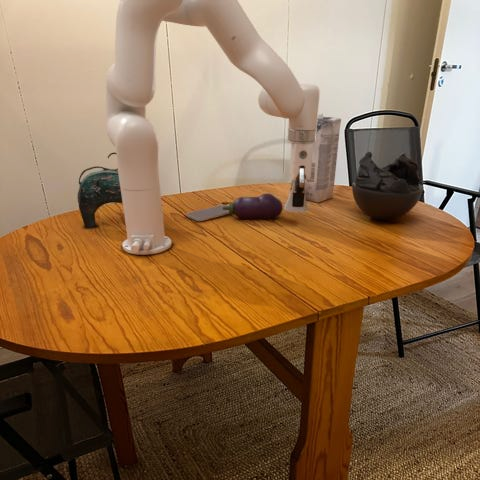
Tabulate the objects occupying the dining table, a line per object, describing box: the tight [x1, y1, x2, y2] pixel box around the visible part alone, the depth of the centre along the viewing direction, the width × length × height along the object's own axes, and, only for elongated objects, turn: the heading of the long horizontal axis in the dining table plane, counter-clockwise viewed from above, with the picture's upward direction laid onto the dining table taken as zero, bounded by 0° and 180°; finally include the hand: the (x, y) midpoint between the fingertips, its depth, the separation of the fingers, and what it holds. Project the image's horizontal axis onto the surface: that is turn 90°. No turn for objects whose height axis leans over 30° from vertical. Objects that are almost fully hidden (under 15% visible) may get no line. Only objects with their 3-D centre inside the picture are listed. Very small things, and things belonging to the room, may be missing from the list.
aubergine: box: [223, 192, 284, 220], centre depth 134 cm, size 7×18×7 cm, turn 91°
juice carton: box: [304, 113, 342, 203], centre depth 148 cm, size 9×10×27 cm
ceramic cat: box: [77, 151, 123, 229], centre depth 127 cm, size 20×6×20 cm, turn 108°
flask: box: [283, 179, 309, 213], centre depth 126 cm, size 7×7×10 cm
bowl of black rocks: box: [351, 151, 424, 221], centre depth 130 cm, size 20×20×19 cm
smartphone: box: [186, 204, 230, 222], centre depth 139 cm, size 7×1×15 cm
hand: (296, 203), depth 128 cm, fingers closed on flask, 4 cm apart
